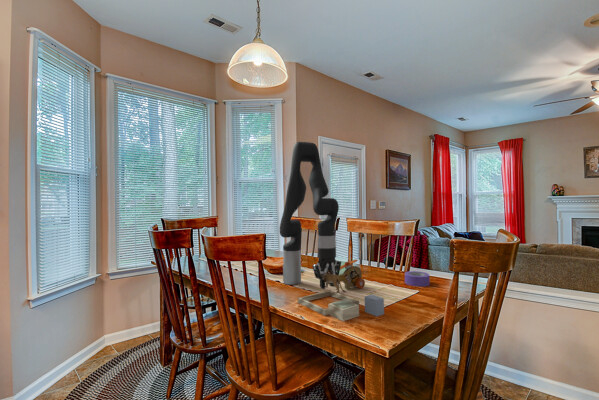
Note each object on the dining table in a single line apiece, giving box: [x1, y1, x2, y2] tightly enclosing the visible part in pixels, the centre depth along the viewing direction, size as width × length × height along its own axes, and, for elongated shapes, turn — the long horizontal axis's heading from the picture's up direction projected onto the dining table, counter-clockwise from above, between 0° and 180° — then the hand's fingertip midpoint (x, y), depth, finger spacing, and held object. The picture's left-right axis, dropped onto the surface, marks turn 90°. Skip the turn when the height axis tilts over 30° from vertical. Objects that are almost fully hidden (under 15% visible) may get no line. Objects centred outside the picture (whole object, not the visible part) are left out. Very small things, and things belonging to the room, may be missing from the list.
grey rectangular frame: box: [297, 290, 360, 322], centre depth 121 cm, size 26×18×4 cm
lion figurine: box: [319, 266, 346, 294], centre depth 124 cm, size 15×5×9 cm, turn 49°
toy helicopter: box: [328, 259, 366, 290], centre depth 145 cm, size 8×21×14 cm, turn 121°
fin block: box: [364, 293, 385, 317], centre depth 114 cm, size 6×4×6 cm, turn 34°
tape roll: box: [404, 270, 430, 288], centre depth 153 cm, size 12×12×5 cm
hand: (327, 287), depth 124 cm, fingers closed on lion figurine, 4 cm apart
